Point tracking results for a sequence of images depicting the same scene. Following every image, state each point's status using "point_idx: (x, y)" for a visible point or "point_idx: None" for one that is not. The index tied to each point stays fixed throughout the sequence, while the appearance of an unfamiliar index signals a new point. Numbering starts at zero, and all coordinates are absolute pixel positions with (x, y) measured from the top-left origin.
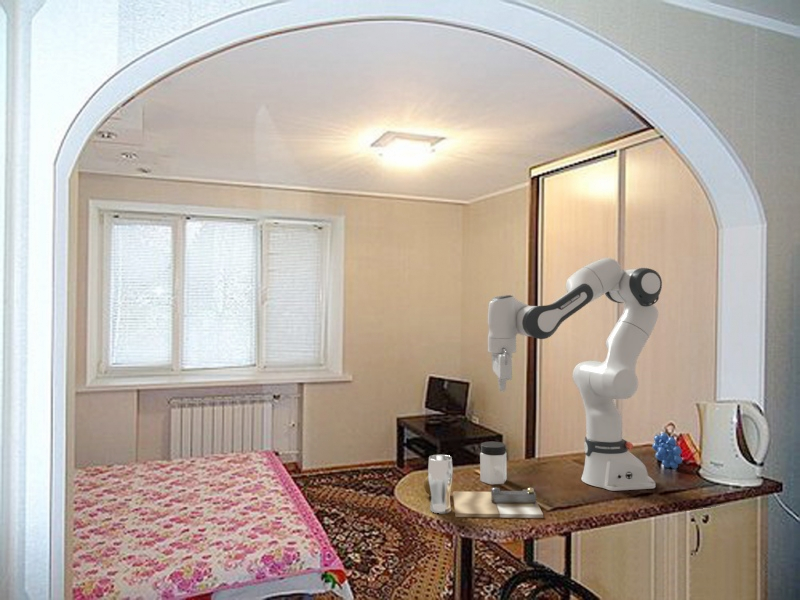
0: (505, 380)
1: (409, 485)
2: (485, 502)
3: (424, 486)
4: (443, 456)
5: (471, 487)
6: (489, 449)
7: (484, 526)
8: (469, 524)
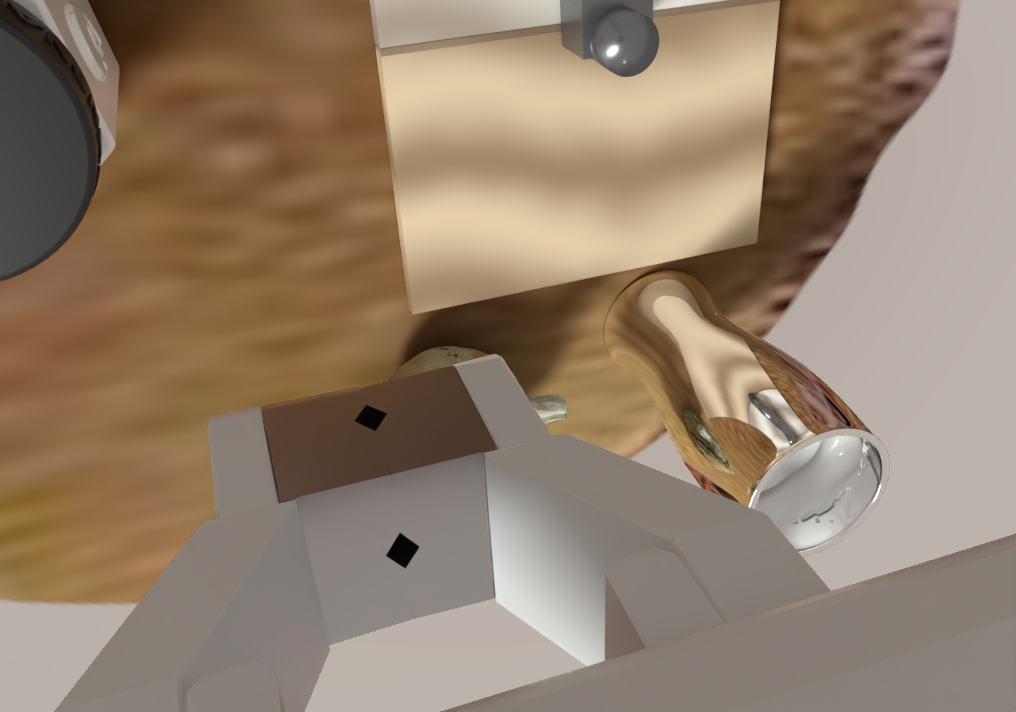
0: (768, 548)
1: None
2: (599, 91)
3: None
4: (751, 489)
5: (229, 208)
6: (96, 177)
7: (872, 75)
8: (840, 154)
